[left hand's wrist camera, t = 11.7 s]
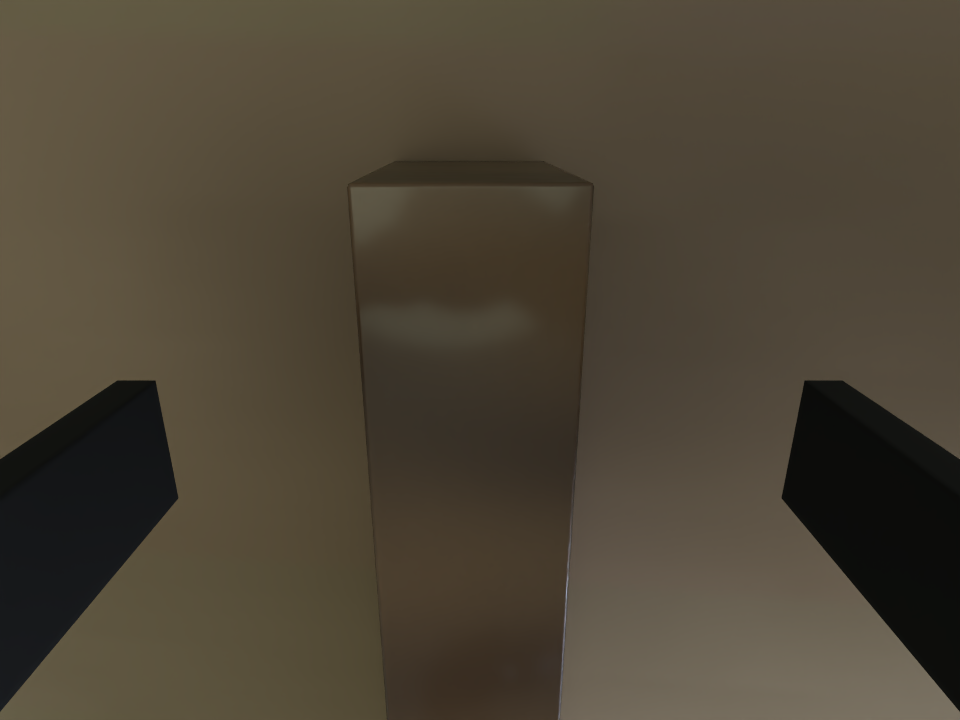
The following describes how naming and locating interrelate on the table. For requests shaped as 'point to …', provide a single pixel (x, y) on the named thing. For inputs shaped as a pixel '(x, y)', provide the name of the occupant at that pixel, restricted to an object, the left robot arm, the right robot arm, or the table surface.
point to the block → (471, 426)
